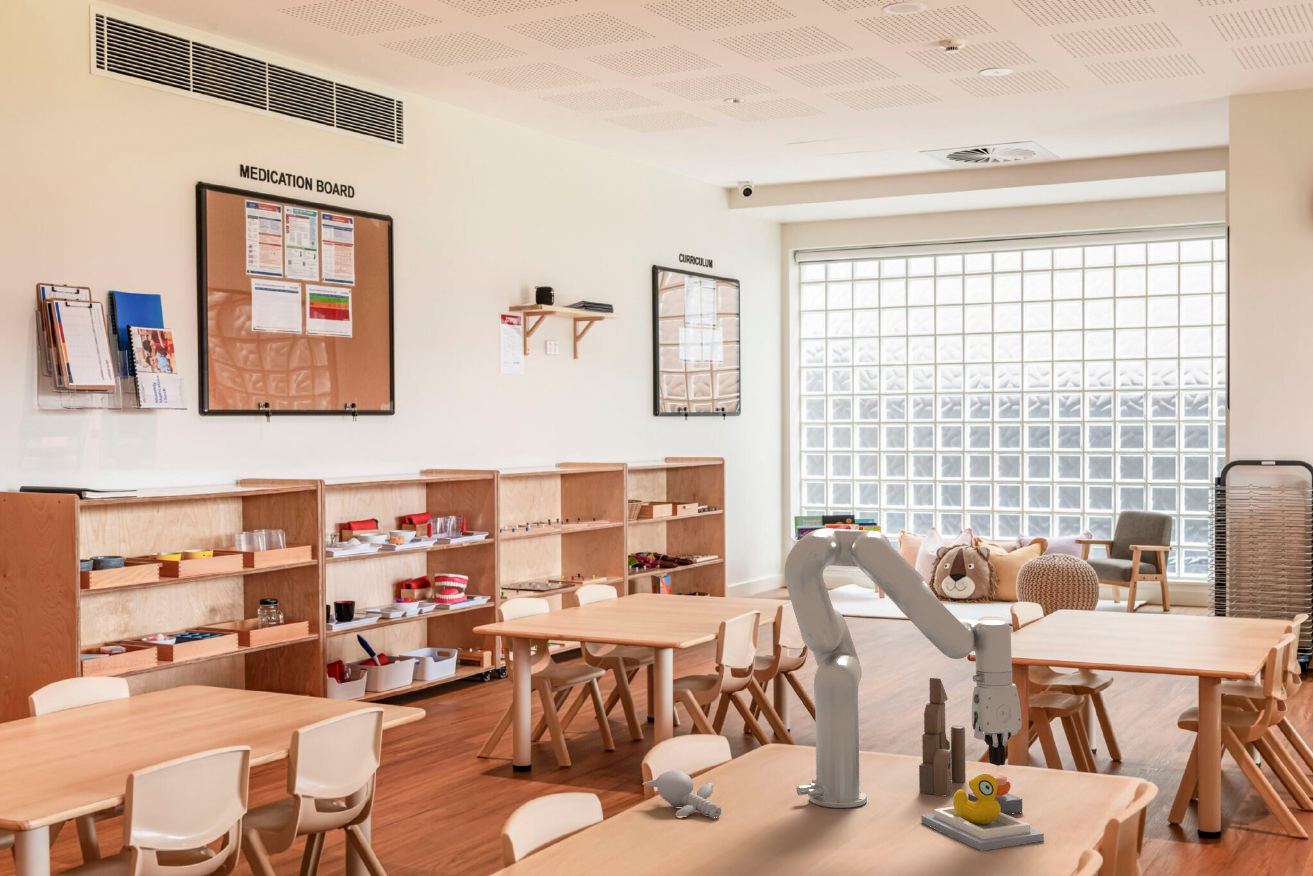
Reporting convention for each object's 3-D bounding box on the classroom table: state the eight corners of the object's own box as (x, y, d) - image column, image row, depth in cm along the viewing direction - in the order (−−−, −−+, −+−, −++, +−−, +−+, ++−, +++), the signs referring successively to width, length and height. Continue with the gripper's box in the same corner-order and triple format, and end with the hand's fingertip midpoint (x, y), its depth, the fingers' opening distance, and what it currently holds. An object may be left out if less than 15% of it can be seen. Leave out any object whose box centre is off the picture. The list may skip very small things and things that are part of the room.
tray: (981, 851, 239) (981, 835, 239) (921, 822, 257) (921, 808, 257) (1043, 841, 245) (1043, 825, 245) (980, 814, 263) (980, 799, 263)
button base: (991, 817, 260) (991, 803, 261) (968, 807, 268) (968, 793, 268) (1022, 813, 264) (1022, 798, 264) (998, 803, 271) (998, 789, 271)
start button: (992, 795, 262) (992, 781, 263) (978, 789, 267) (977, 775, 267) (1011, 792, 264) (1011, 778, 264) (997, 787, 269) (996, 773, 269)
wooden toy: (948, 797, 276) (947, 685, 276) (919, 793, 280) (917, 682, 280) (967, 780, 290) (965, 674, 290) (939, 777, 293) (937, 671, 293)
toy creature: (695, 811, 256) (629, 779, 270) (700, 841, 259) (634, 807, 272) (735, 780, 264) (669, 750, 278) (740, 809, 267) (674, 778, 280)
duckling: (1012, 822, 252) (1011, 773, 252) (1010, 830, 247) (1009, 779, 247) (955, 817, 256) (954, 768, 256) (952, 824, 251) (951, 775, 251)
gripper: (976, 684, 260) (979, 772, 259) (1033, 678, 265) (1036, 763, 265) (954, 679, 267) (957, 764, 266) (1011, 672, 272) (1014, 756, 272)
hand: (997, 763), depth 266 cm, fingers closed
